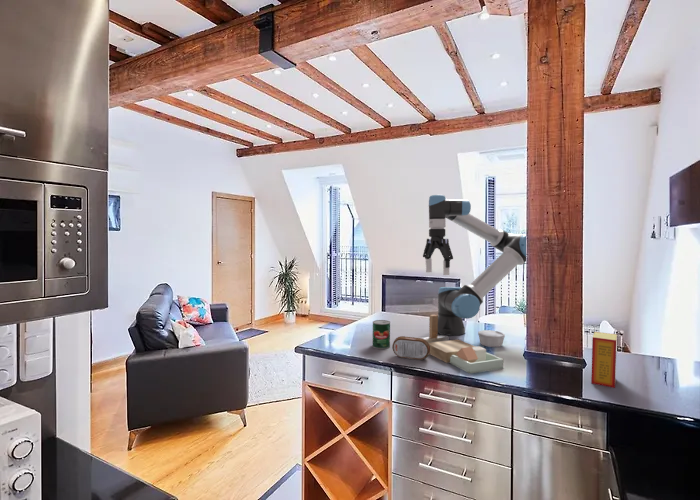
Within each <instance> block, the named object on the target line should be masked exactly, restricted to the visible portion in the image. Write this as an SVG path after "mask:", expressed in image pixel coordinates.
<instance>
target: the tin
mask: <svg viewBox="0 0 700 500" xmlns="http://www.w3.org/2000/svg"><path fill="white" fill-rule="evenodd" d="M422 338H423V337H413V336H412V337H411V336H405V335H404V336H403V335H401V336H398V337H396V338H395V339H394V340H393V343H392V352H393V353H394V355H396V356H397V357H398V358H401V359H409V360H410V359H411V360H419V361H421V360H424V359H426V358H427V357H428V355H430V354H429V352H430V346H429V344H428V342H427V341H426V340H424V339H422Z"/></svg>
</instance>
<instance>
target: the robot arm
mask: <svg viewBox="0 0 700 500" xmlns="http://www.w3.org/2000/svg"><path fill="white" fill-rule="evenodd" d="M428 197H429V198H428V228H430V229H429V230H428V237H429V238H426V241H425V242H426V243H425V247H424V250H423V254H422V257H423V258H424V259H425V273H432V272H433V269H432V268H433V267H432V265H433V264H432V261H433V259H432V256H433V255H434V252H435V250H436V249H438V250H439V252H440V253H441V255H442V257H443V261H442V265H443V266H442V267H443V271H442V272H443V276H450V267H451V260H454V256H453V253H452V249H451V247H450V243H449V240H450V239H449V238H445V237H446V229H445V228H446V219H447V220H448V221H451V222H453V223H454V224H456V225H458V226H460V227H462V228H464V229H465V230H467V231H469V232H471V233H472V234H474V235H475V236H478V237H479V238H481V239H483V240H485V241H487V242H488V243H489V245H490V246H491V247H493V248H495V249H496V250H498V251H499V252H502V253H501V254H500V256H498V257H497V258H496V259H495V260H494V261H493V262H492V263H491V264H490V265H488V266H487V268H486V269H485V270H483V272H482V273H480V274H479V275H478V276H477V277H476V278H475V279H474V280H472V282H470V283H469V284H463V286H462V287H461V286H442V287H439V288H438V290H437V291H438V293H437V295H438V296H437V315H438V334H441V335H445V336H460V335H464V334H465V332H466V327H465V324H464V321H463V319H466V320H467V319H472V318H474V317H475V316H476V315H478V314H479V311H480V307H481V305H482V304H483V302H484V300H483V299H484V298H485V297H486V296H487V295H488V294H489V292H491V290H493V289H494V288H495V287H496V286H497V285H498V284H499V283H500V282H501V281H502V280H503V279H505V278H506V276H508V274H510V272H511V271H513V270H514V269H515V268H516V267H517V266H519V265H520V266H521V265H524V264H525V263H526V262H527V261H526V233H527V232H526V233H512V232H507V231H506V230H503V229H497V228H496V227H494V226H492V225H490V224H488V223H486V222H485V221H483V220H482V219H480V218H478V217H476V216H474V215H473V214H471V210H472V209H471V206H472V205H471V202H470V200H468V199H463V198H462V199H461V198H460V199H447V198H446V196H445V195H444V194H433V195H430V196H428Z"/></svg>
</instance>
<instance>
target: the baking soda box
mask: <svg viewBox="0 0 700 500" xmlns="http://www.w3.org/2000/svg"><path fill="white" fill-rule="evenodd" d="M591 341H592V343H591V345H592V347H591V376H590V379H591V382H590V384H593V385H597V386H603V387H608V388H613V389H616V378H617V373H616V372H617V347H618V346H617V344H618V343H617V342H618V334H616V333H608V332H599V331H594V332H593V335H592V340H591Z"/></svg>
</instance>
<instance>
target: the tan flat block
mask: <svg viewBox="0 0 700 500" xmlns="http://www.w3.org/2000/svg"><path fill="white" fill-rule="evenodd" d="M428 344H429V346H430V352H429V354H428V355H431V356H433V357H435V358H437V359H438V360H440V361H441V362H442V361H443V362H444V363H446V364H447V363H450V357H452V355H455V356H457V354H456V353H457V352H458V351H459V350H460V349H461V348H466V347H476V346H475V345H473V344H471V343H467V342H465V341H463V340H460V339H451V340H449V341H441V342H432V343H428Z"/></svg>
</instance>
